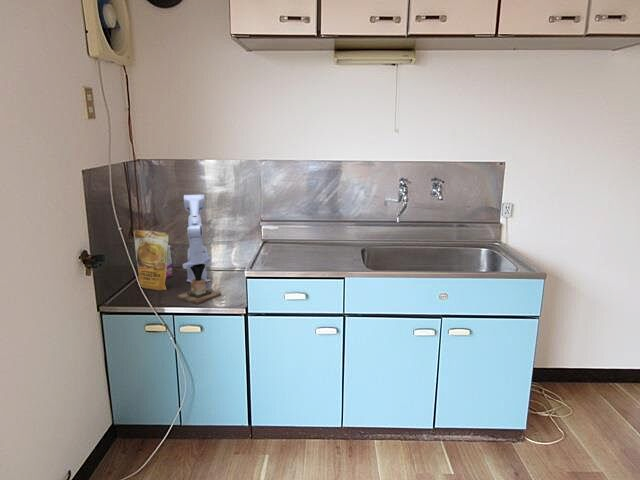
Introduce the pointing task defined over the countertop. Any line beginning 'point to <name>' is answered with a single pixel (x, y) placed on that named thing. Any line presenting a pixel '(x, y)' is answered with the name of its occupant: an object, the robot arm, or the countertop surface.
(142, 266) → the pancake mix bag
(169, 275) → the candy bar box
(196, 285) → the block stack
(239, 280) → the countertop surface
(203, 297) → the socket board
